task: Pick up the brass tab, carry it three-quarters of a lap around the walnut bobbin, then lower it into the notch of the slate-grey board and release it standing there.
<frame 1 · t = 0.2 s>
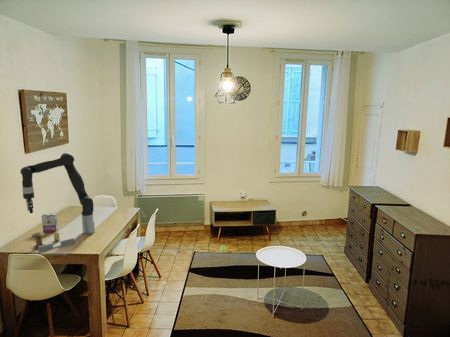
hand: (30, 211, 259), 28 cm above the table, fingers open, 8 cm apart
notch board: (57, 247, 261), on the table
candy bar box: (50, 231, 293), on the table
bobbin: (39, 247, 260), on the table
tab: (57, 241, 272), on the table
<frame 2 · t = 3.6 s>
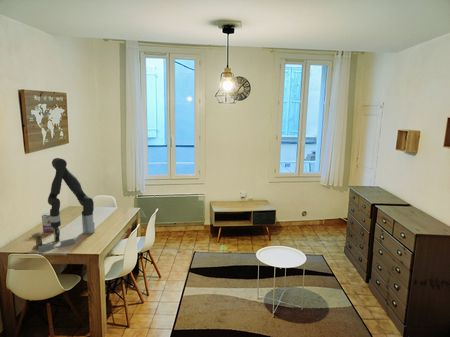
hand: (56, 239, 272), 1 cm above the table, fingers closed on tab, 4 cm apart
tab: (57, 241, 272), on the table, touching gripper
everything else where it was.
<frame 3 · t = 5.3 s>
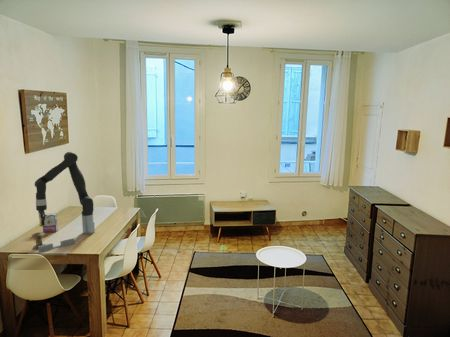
hand: (42, 224, 266), 16 cm above the table, fingers closed on tab, 4 cm apart
tab: (42, 225, 266), point 15 cm above the table, touching gripper
everything else where it was.
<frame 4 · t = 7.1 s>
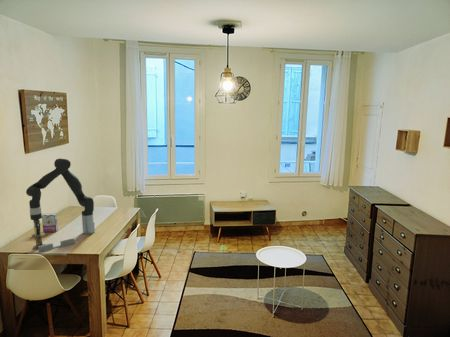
hand: (37, 233, 250), 15 cm above the table, fingers closed on tab, 4 cm apart
tab: (37, 235, 250), point 13 cm above the table, touching gripper
everything else where it was.
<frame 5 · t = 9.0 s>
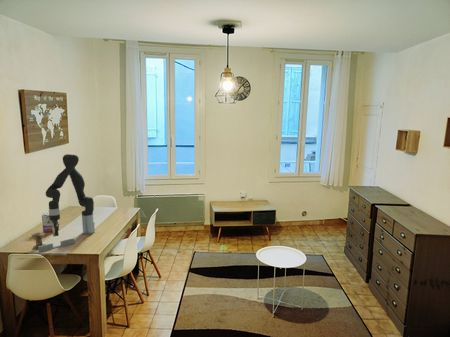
hand: (55, 234, 258), 11 cm above the table, fingers closed on tab, 4 cm apart
tab: (55, 235, 259), point 10 cm above the table, touching gripper
everything else where it was.
when the fingers open (3 cm above the table, at t = 10.7 s): tab drops 1 cm, resting on notch board.
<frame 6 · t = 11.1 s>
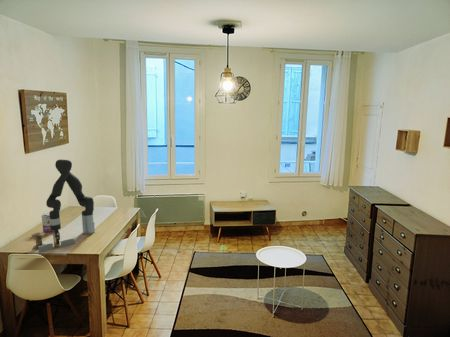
hand: (56, 242, 260), 4 cm above the table, fingers open, 7 cm apart
tab: (56, 246, 260), point 1 cm above the table, touching notch board
everything else where it was.
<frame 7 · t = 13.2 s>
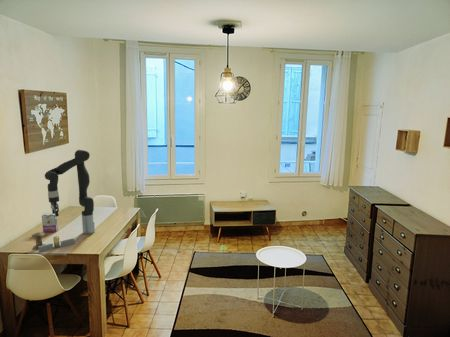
hand: (55, 214, 263), 25 cm above the table, fingers open, 8 cm apart
nothing on the table moved.
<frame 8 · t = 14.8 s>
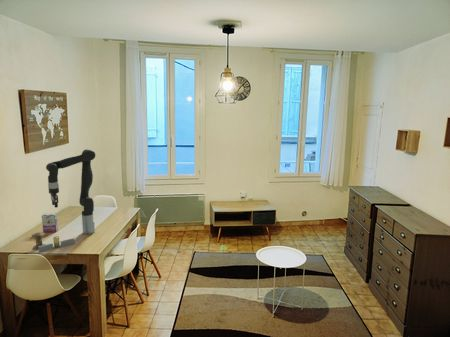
hand: (55, 206, 269), 30 cm above the table, fingers open, 8 cm apart
nothing on the table moved.
at the end: tab 0.2 cm off-centre on the notch board, point 0.6 cm above the notch board's base; tab tilted 0°; the gripper is holding nothing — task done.
